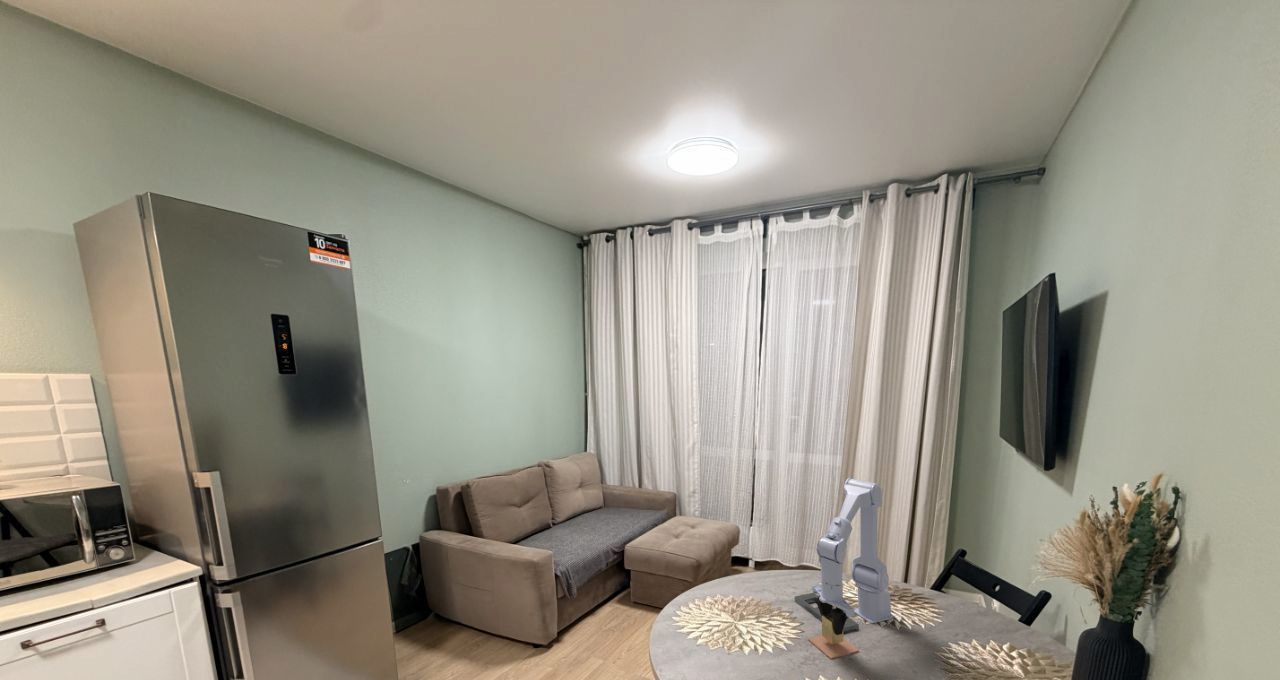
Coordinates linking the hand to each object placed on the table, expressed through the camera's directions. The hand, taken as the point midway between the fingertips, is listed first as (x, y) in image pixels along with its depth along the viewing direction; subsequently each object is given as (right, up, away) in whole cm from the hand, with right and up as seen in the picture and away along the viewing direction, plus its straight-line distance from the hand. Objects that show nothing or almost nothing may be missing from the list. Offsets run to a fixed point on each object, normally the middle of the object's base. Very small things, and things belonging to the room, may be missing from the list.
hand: (832, 629), depth 128 cm
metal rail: (+4, -6, +16) cm, 18 cm away
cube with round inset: (0, -3, 0) cm, 3 cm away
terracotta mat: (0, -5, 0) cm, 5 cm away
